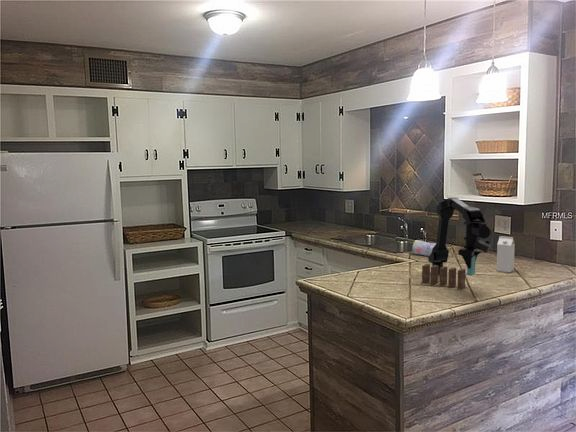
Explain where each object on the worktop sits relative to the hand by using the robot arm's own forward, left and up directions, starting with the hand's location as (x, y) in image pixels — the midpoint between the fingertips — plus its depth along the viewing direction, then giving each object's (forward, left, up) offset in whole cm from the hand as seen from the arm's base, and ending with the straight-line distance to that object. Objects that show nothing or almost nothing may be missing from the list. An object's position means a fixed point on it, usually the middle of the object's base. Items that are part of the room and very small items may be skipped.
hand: (471, 267), depth 229 cm
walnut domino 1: (-8, -21, -11) cm, 25 cm away
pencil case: (-73, -23, -11) cm, 78 cm away
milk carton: (-43, +19, -11) cm, 48 cm away
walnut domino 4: (-3, -8, -11) cm, 14 cm away
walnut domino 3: (-4, -13, -11) cm, 17 cm away
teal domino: (0, 0, -3) cm, 3 cm away
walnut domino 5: (-1, -4, -11) cm, 12 cm away
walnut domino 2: (-6, -17, -11) cm, 21 cm away
